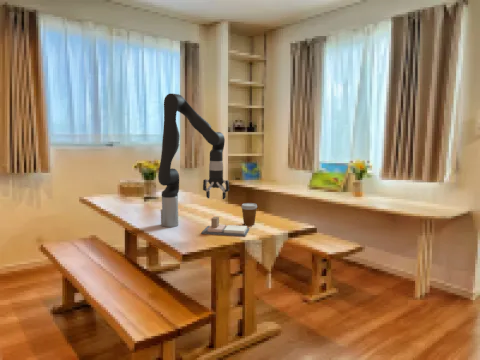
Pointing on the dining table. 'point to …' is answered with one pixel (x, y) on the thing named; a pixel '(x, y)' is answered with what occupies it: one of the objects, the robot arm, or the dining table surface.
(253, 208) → the disposable coffee cup
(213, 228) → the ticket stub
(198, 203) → the dining table surface
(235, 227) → the ticket base
